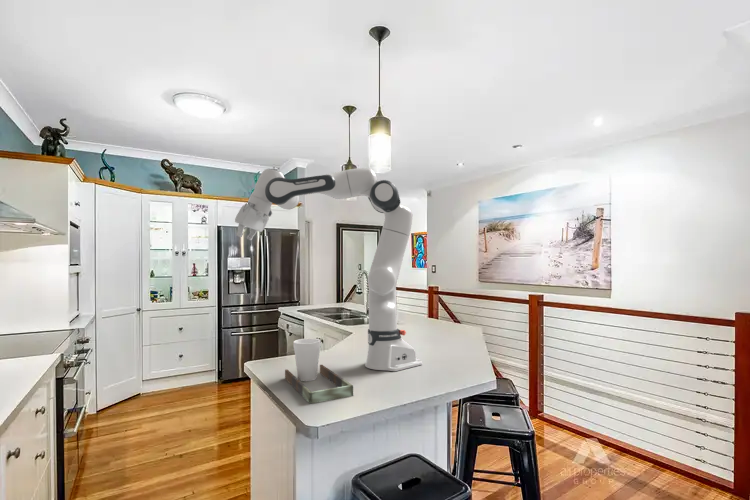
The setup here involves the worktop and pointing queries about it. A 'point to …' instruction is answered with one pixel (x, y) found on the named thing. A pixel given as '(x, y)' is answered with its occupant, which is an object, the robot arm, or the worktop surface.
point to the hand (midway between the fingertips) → (243, 238)
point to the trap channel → (322, 395)
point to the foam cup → (307, 358)
